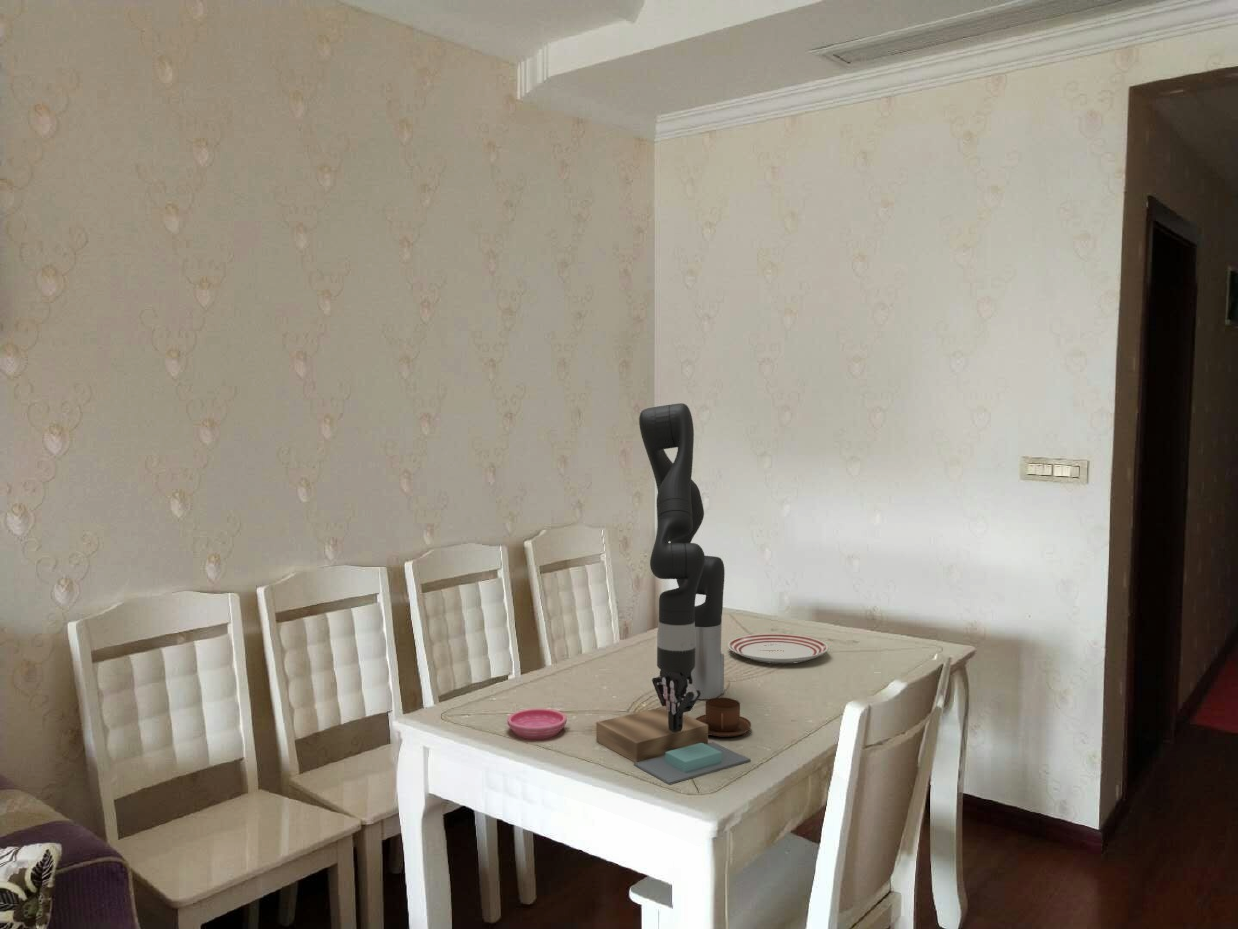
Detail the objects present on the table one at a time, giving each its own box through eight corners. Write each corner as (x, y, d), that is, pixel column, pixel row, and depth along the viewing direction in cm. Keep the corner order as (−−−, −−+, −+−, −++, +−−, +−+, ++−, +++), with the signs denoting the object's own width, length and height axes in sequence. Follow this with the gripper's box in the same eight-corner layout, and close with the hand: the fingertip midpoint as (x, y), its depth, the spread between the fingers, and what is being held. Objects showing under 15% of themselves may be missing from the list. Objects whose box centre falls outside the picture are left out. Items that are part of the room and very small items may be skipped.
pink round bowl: (496, 729, 199) (496, 715, 199) (545, 718, 206) (545, 704, 206) (527, 747, 189) (527, 731, 189) (578, 734, 197) (578, 719, 196)
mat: (713, 744, 191) (713, 742, 191) (750, 761, 182) (750, 759, 182) (633, 765, 180) (633, 763, 180) (669, 784, 171) (669, 782, 171)
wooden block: (665, 724, 202) (665, 706, 202) (707, 744, 191) (708, 725, 191) (596, 741, 192) (596, 722, 192) (636, 763, 181) (636, 743, 180)
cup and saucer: (759, 739, 194) (759, 710, 194) (703, 743, 192) (704, 714, 191) (739, 720, 206) (740, 692, 206) (687, 723, 204) (687, 696, 203)
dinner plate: (715, 662, 251) (715, 650, 251) (742, 639, 277) (742, 628, 276) (817, 675, 241) (818, 662, 241) (836, 649, 266) (836, 637, 266)
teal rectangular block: (721, 752, 180) (721, 762, 180) (701, 742, 185) (701, 752, 185) (684, 762, 175) (684, 772, 175) (665, 752, 180) (665, 762, 180)
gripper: (713, 648, 180) (711, 737, 181) (670, 634, 191) (669, 718, 192) (682, 654, 176) (681, 745, 177) (641, 639, 187) (640, 724, 188)
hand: (675, 730), depth 185 cm, fingers closed
